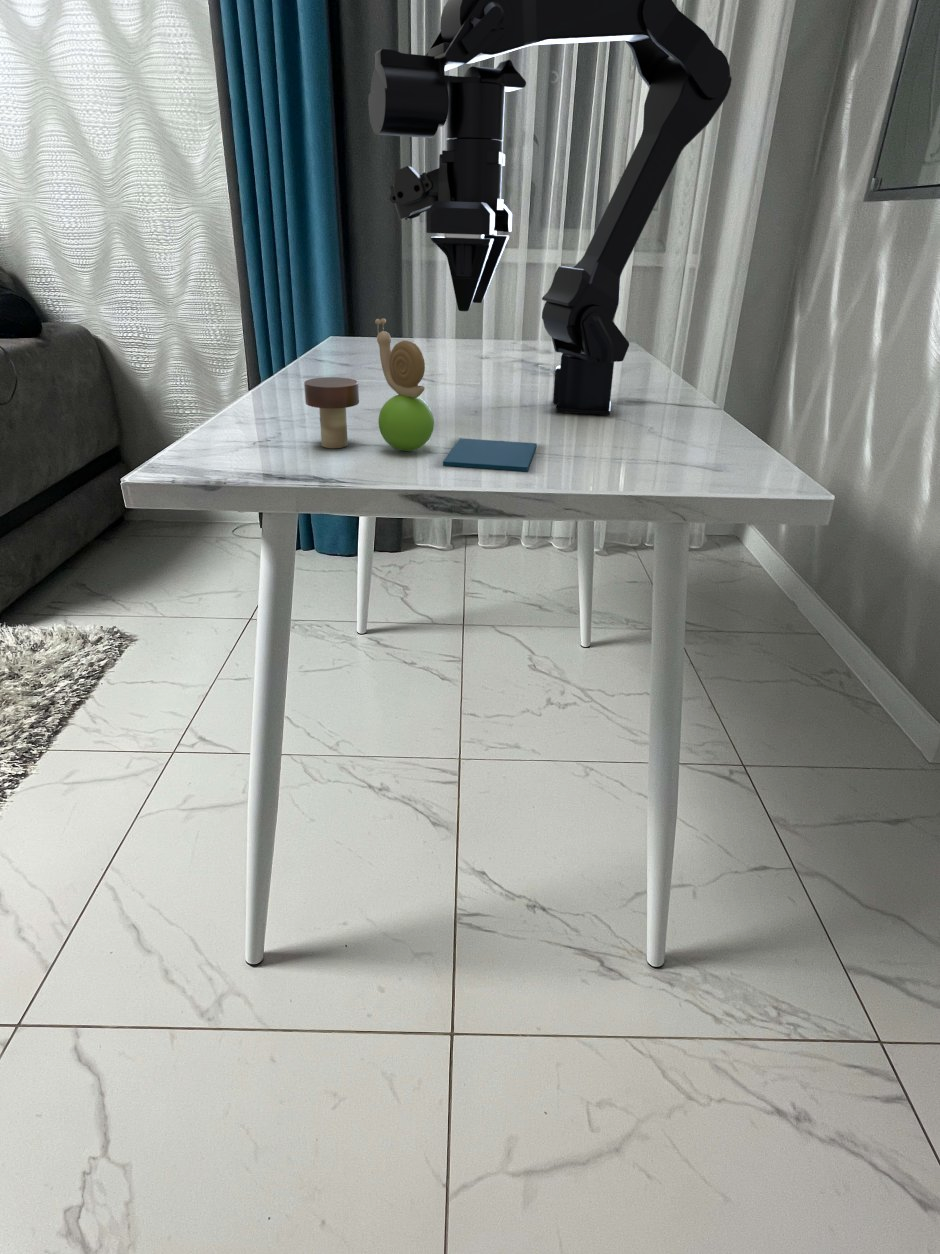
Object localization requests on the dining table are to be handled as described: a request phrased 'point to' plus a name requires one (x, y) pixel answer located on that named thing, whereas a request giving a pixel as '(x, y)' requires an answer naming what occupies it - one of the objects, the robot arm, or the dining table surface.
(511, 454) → the flat rectangular board
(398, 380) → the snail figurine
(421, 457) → the dining table surface
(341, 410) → the mushroom
